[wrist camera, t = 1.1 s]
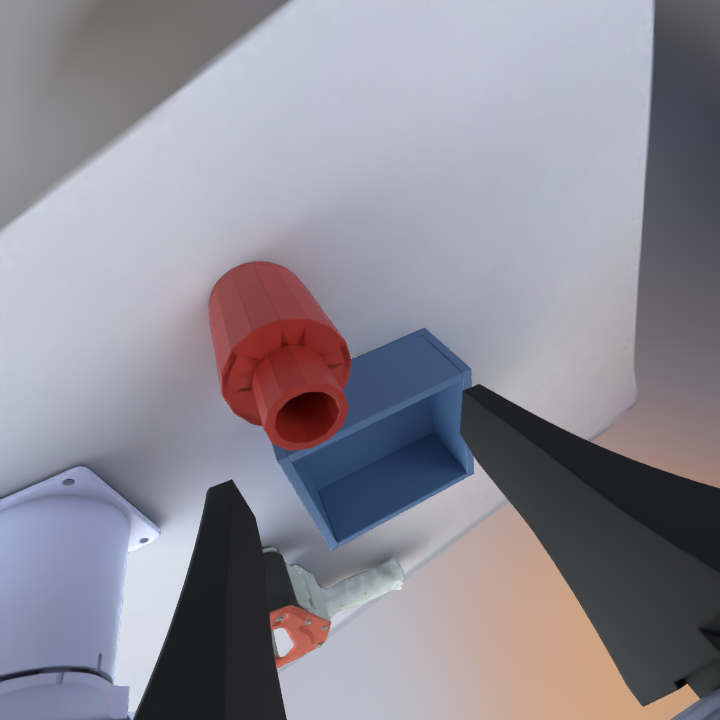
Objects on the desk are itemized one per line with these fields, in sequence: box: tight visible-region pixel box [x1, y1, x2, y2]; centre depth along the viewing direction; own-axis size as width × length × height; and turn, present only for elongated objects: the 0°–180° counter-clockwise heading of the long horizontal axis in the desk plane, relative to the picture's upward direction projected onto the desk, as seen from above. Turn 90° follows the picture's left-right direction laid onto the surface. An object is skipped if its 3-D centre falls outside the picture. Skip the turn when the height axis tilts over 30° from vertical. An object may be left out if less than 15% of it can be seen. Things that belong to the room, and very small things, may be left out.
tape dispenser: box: [262, 548, 404, 668], centre depth 34 cm, size 18×5×20 cm
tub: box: [272, 328, 474, 551], centre depth 25 cm, size 12×11×5 cm
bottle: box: [209, 262, 351, 450], centre depth 16 cm, size 5×5×9 cm
